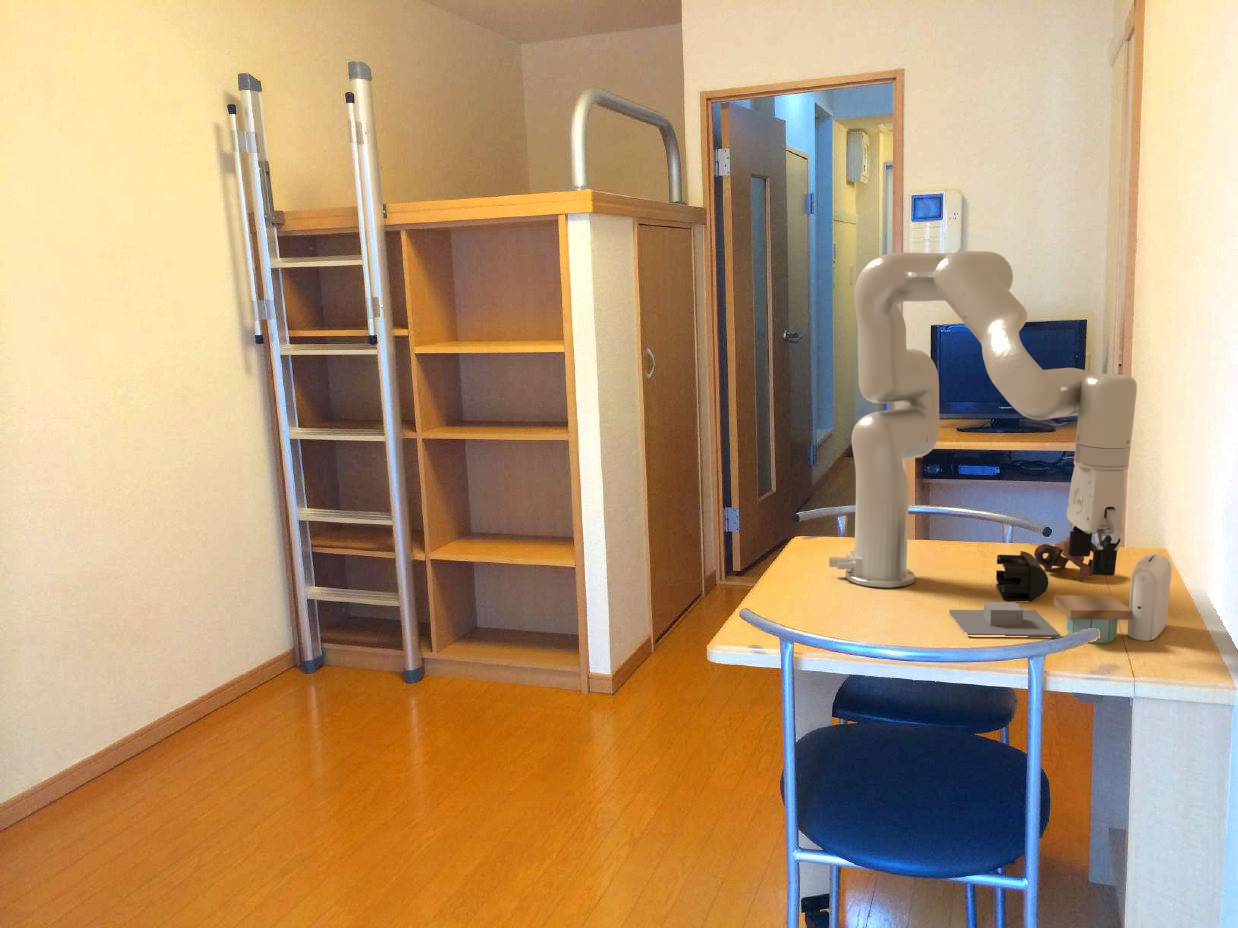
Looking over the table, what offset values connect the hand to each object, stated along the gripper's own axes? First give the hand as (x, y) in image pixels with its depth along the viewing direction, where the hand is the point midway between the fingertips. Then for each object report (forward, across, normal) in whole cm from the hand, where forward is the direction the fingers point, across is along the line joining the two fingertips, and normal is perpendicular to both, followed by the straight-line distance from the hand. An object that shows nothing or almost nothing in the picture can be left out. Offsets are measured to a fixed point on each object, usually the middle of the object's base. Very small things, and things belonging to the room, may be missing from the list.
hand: (1090, 565), depth 157 cm
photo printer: (+11, -2, +10) cm, 15 cm away
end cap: (+12, -21, -3) cm, 25 cm away
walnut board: (+7, +1, +1) cm, 7 cm away
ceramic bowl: (+11, +1, +1) cm, 11 cm away
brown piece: (+12, -34, +9) cm, 37 cm away
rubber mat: (+12, -4, -11) cm, 17 cm away
